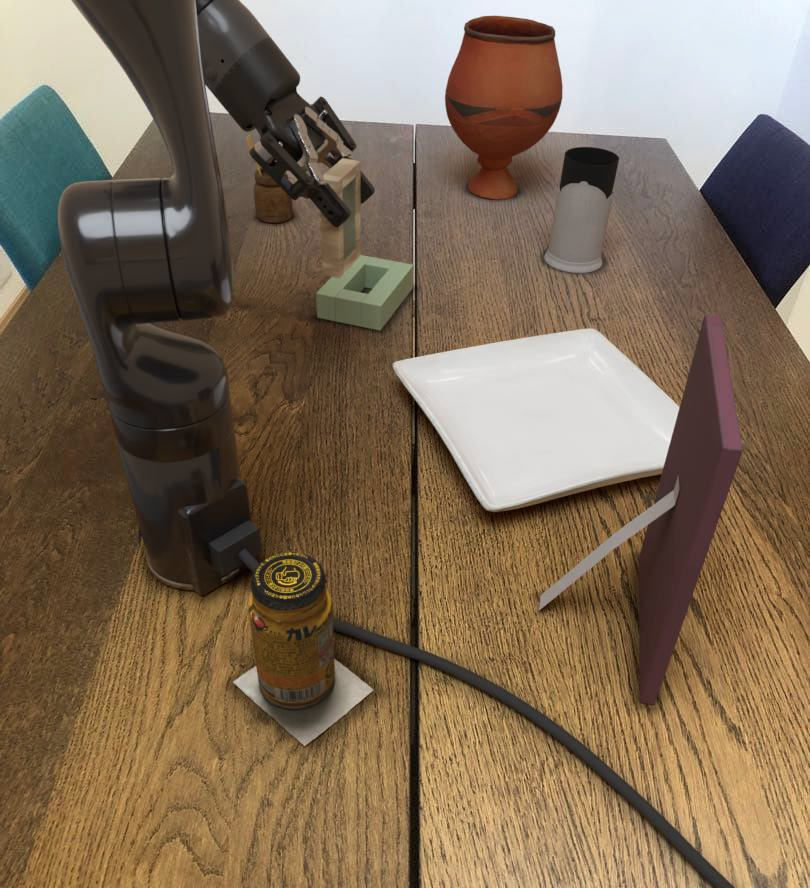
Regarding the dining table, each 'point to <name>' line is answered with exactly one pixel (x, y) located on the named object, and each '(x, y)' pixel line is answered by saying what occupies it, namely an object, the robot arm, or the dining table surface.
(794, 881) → the dining table surface
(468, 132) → the goblet
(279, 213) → the utensil holder
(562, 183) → the glass holder
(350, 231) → the frame
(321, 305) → the holder
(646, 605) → the picture frame
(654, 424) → the square plate
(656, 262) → the dining table surface
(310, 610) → the condiment
